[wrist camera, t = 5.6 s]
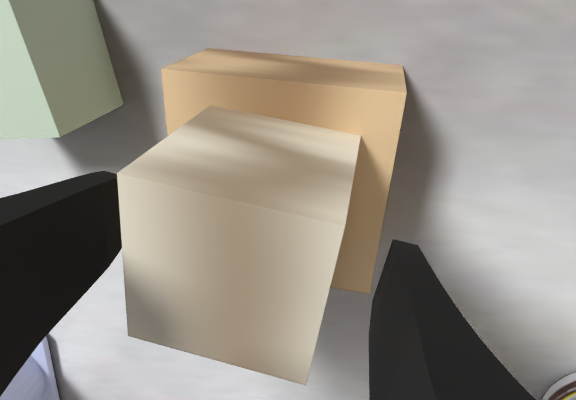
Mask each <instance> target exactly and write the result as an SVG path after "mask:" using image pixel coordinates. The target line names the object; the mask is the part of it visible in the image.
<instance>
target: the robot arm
mask: <svg viewBox="0 0 576 400" xmlns="http://www.w3.org/2000/svg"><path fill="white" fill-rule="evenodd" d="M121 248H122V240H121V225H120V211H119V196H118V182H117V174H115V173H110V172H106V171H100V172H95V173H90V174H86V175H82V176H78V177H75V178H71V179H68V180H64V181H61V182H57V183H54V184H50V185H47V186H43V187H40V188H36V189H33V190H29V191H26V192H22V193H19V194H15V195H11V196H7V197H3V198H0V400H59V395H58V390H57V385H56V380H55V375H54V370H53V365H52V361H51V356H50V351H49V346H48V341H47V338H46V335H47V334H48V333H49V332H50V331H51V329H52V328H53V327H54V326H55V325H56V324H57V323H58V322H59V321H60V320H61V319H62V318H63V316H64V315H65V314H66V313H67V312H68V311H69V310H70V309H71V308H72V307H73V306H74V305H75V303H76V302H77V301H78V300H79V299H80V298H81V297H82V296H83V295H84V294H85V293H86V292H87V290H88V289H89V288H90V287H91V286H92V285H93V284H94V283H95V282H96V281H97V279H98V278H99V277H100V276H101V275H102V274H103V273H104V272H105V270H106V269H107V268H108V267H109V266H110V264H111V263H112V261H113V260H114V259H115V257H116V256H117V254H118V253H119V251H120V250H121ZM369 389H370V400H536V399H534V398H533V397H532V396H531V395H530V394H529V393H528V392H527V391H526V390H525V389H524V388H523V387H522V385H521V384H520V383H519V382H518V381H517V380H516V379H515V378H514V377H513V376H512V375H511V374H510V373H509V372H508V370H507V369H506V368H505V367H504V366H503V365H502V364H501V363H500V361H499V360H498V359H497V358H496V357H495V356H494V355H493V354H492V352H491V351H490V350H489V349H488V348H487V346H486V345H485V344H484V343H483V342H482V340H481V339H480V338H479V337H478V335H477V334H476V333H475V331H474V330H473V329H472V327H471V326H470V325H469V323H468V322H467V321H466V320H465V318H464V317H463V316H462V314H461V313H460V311H459V310H458V308H457V307H456V306H455V304H454V303H453V301H452V300H451V298H450V297H449V295H448V294H447V292H446V291H445V289H444V288H443V286H442V284H441V283H440V281H439V280H438V278H437V276H436V275H435V273H434V271H433V270H432V268H431V267H430V265H429V263H428V261H427V260H426V258H425V257H424V255H423V253H422V252H421V250H420V248H419V247H418V245H415V244H411V243H406V242H402V241H398V240H394V239H393V241H392V244H391V247H390V250H389V253H388V256H387V259H386V262H385V265H384V268H383V271H382V274H381V277H380V280H379V283H378V286H377V289H376V292H375V295H374V298H373V302H372V311H371V319H370V329H369Z"/></svg>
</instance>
